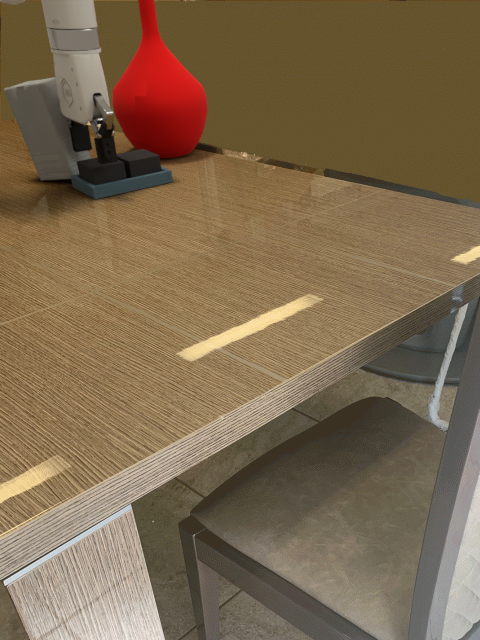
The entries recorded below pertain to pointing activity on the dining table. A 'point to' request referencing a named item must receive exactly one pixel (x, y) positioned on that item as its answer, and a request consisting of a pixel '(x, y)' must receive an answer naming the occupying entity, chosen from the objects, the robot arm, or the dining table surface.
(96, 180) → the loose pad
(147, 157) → the seated pad
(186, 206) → the dining table surface
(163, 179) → the tray
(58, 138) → the cosmetic box
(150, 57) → the vase
